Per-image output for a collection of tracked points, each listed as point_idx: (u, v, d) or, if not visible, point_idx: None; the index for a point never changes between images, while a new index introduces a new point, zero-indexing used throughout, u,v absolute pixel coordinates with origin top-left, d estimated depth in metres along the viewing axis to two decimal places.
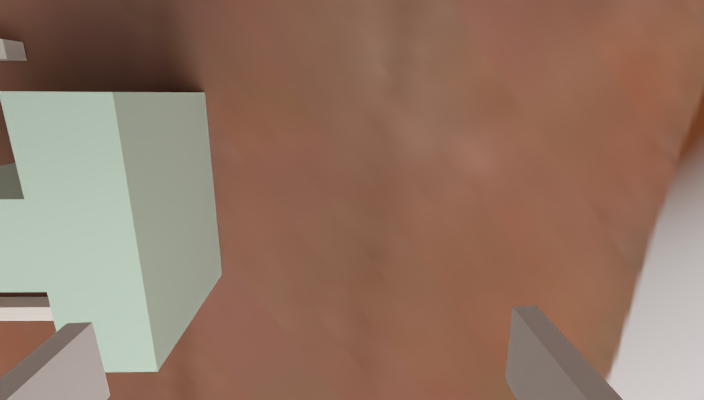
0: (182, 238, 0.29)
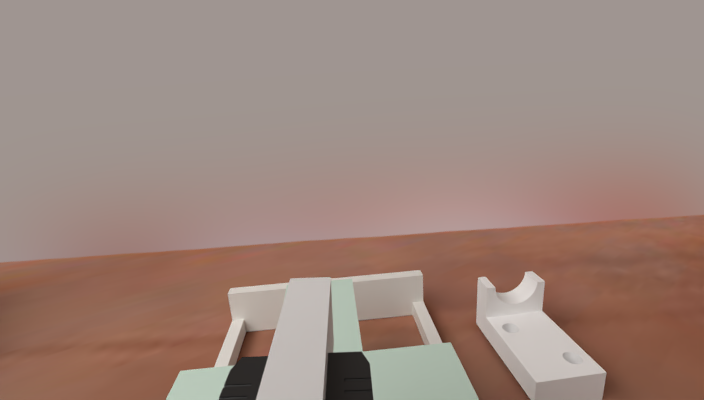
0: None
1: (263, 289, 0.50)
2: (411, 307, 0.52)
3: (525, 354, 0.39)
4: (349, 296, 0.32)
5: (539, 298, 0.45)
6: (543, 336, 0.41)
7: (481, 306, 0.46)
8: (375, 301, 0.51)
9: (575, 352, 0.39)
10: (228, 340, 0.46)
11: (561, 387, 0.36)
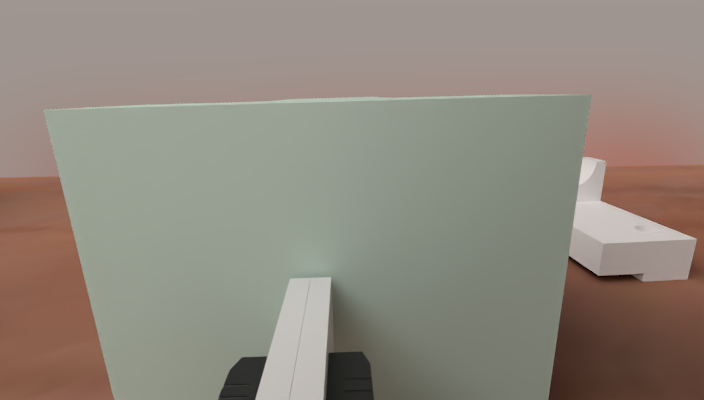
0: (276, 271, 0.14)
1: None
2: None
3: (585, 226, 0.31)
4: None
5: (598, 183, 0.37)
6: (606, 215, 0.33)
7: None
8: None
9: (650, 226, 0.31)
10: None
11: (636, 253, 0.28)
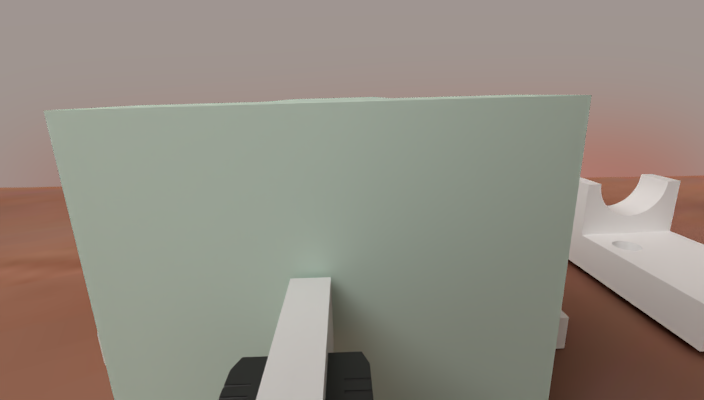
0: (276, 272, 0.14)
1: None
2: None
3: (670, 274, 0.23)
4: (371, 97, 0.25)
5: (668, 209, 0.29)
6: (690, 255, 0.25)
7: None
8: None
9: None
10: None
11: None
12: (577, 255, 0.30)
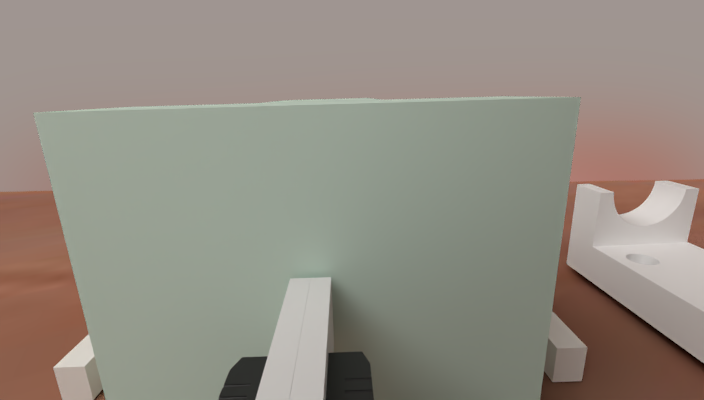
0: (270, 273, 0.14)
1: None
2: None
3: (693, 293, 0.21)
4: None
5: (685, 219, 0.27)
6: None
7: (582, 230, 0.28)
8: None
9: None
10: None
11: None
12: (587, 268, 0.28)
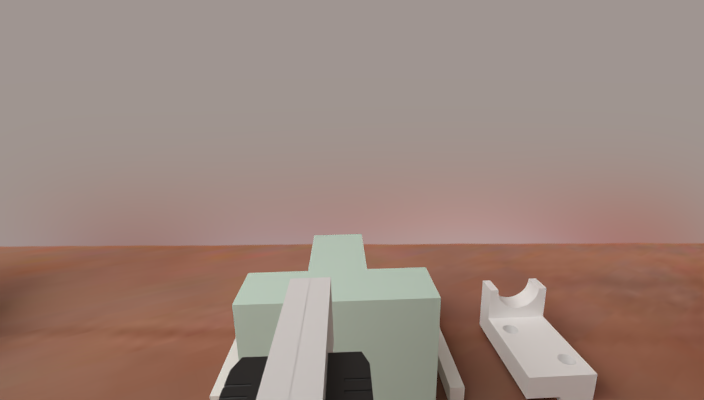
0: None
1: None
2: None
3: (522, 353, 0.41)
4: (359, 243, 0.45)
5: (540, 304, 0.48)
6: (541, 338, 0.44)
7: (485, 308, 0.49)
8: None
9: (570, 354, 0.41)
10: None
11: (553, 384, 0.38)
12: (486, 330, 0.48)
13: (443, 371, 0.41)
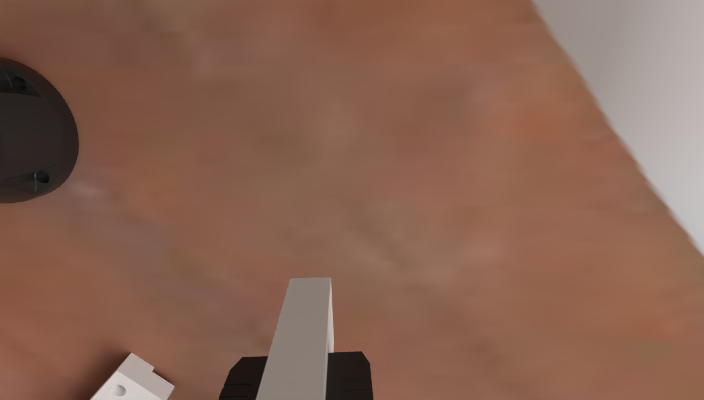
0: None
1: None
2: None
3: None
4: None
5: None
6: None
7: None
8: None
9: (109, 390, 0.46)
10: None
11: (151, 384, 0.47)
12: None
13: None
